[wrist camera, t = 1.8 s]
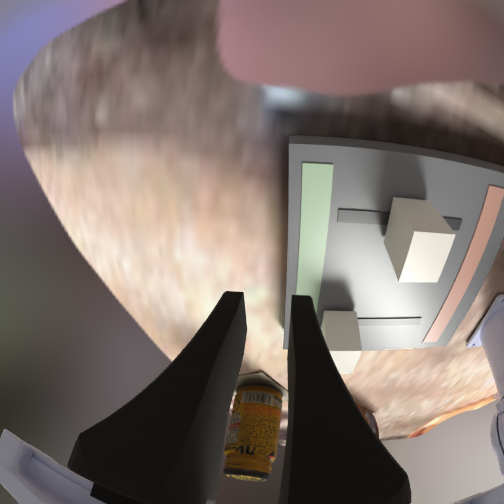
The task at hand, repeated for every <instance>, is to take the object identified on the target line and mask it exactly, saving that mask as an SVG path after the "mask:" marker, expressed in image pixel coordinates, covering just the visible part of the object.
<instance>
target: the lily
mask: <svg viewBox="0 0 504 504" xmlns="http://www.w3.org/2000/svg"><path fill="white" fill-rule="evenodd" d="M493 399H500V397H499V393H498V392H497V393H496V394H495V395H494V396H493Z"/></svg>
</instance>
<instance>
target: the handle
mask: <svg viewBox="0 0 504 504" xmlns="http://www.w3.org/2000/svg"><path fill="white" fill-rule="evenodd" d="M321 331H322V334H323V336H324V339H325V341H326V344H327V346H328V349H329V351H330V354H331V356H332V358H333V361H334V363H335V365H336V367H337V369H338V371H339V374H352V373H353V371H354V368H355V366H356V364H357V362H358V359H359V357H360V355H361V352H362V346H361V339H360V331H359V325H358V318H357V312H356V311H324V314H323V319H322V325H321Z"/></svg>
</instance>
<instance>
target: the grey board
mask: <svg viewBox="0 0 504 504" xmlns="http://www.w3.org/2000/svg"><path fill="white" fill-rule="evenodd" d="M393 197H397V198H408V199H417V200H426V201H430V202H431V203H432V204H433V205H434V207H435V208H436V209H437V210H438V212H439V213H440V214H441V216H442V217H443V218H444V219H445V221H446V222H447V223H448V225H449V226H450V228H451V229H452V230H453V232H454V233H455V234H456V235H455V238H454V241H453V244H452V246H451V249H450V252H449V254H448V257H447V260H446V262H445V265H444V267H443V270H442V272H441V275H440V277H439V279H438V282H437V283H435V282H398V279H397V276H396V274H395V271H394V268H393V265H392V263H391V260H390V258H389V255H388V252H387V250H386V247H385V245H384V239H385V234H386V230H387V226H388V221H389V216H390V211H391V206H392V201H393ZM503 238H504V166H501V165H498V164H494V163H491V162H487V161H483V160H479V159H475V158H471V157H467V156H462V155H458V154H453V153H448V152H443V151H438V150H433V149H427V148H422V147H416V146H409V145H403V144H396V143H388V142H380V141H372V140H362V139H351V138H339V137H323V136H301V135H289V207H288V252H287V281H286V304H285V324H284V342H283V349H288V342H289V327H290V314H291V299H292V295H310V296H311V297H312V298H313V304H314V308H315V312H316V316H317V319H318V322H319V325H320V328H321V325H322V319H323V314H324V311H356V312H357V318H358V325H359V331H360V339H361V346H362V351H369V350H397V349H415V348H428V347H440V346H446V345H447V344H448V342H449V341H450V339H451V338H452V336H453V335H454V333H455V332H456V330H457V329H458V327H459V325H460V324H461V322H462V321H463V319H464V317H465V316H466V314H467V312H468V310H469V309H470V307H471V305H472V303H473V302H474V300H475V298H476V296H477V294H478V292H479V291H480V289H481V287H482V285H483V283H484V281H485V279H486V277H487V275H488V273H489V271H490V268H491V266H492V264H493V262H494V260H495V258H496V255H497V253H498V251H499V248H500V246H501V243H502V241H503Z"/></svg>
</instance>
